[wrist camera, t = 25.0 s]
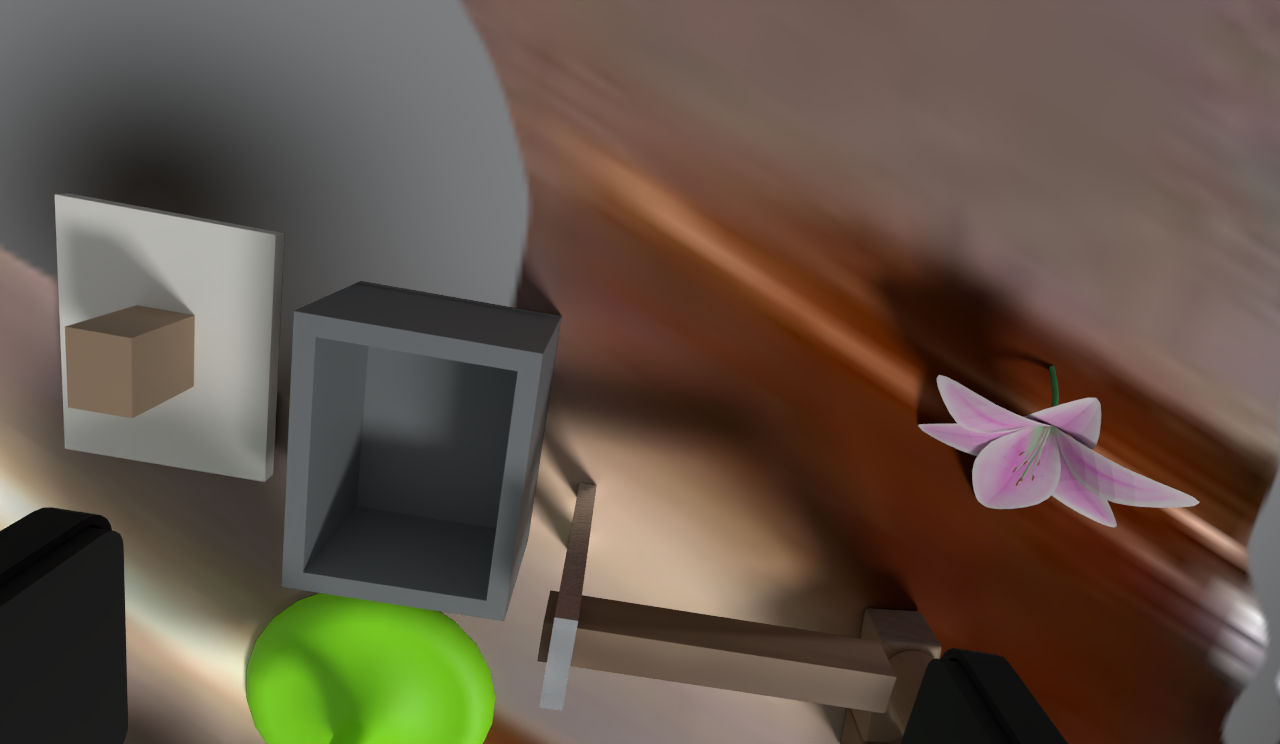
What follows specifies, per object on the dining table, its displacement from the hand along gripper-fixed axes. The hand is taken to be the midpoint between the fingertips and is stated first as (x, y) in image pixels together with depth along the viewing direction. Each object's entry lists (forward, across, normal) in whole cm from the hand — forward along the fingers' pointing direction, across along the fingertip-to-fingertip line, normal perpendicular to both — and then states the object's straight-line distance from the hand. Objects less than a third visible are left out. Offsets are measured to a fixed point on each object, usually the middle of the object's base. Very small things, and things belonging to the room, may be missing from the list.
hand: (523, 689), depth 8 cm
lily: (+33, -23, +5) cm, 40 cm away
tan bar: (+23, -8, +15) cm, 28 cm away
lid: (+33, +23, +8) cm, 41 cm away
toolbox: (+32, +6, +10) cm, 34 cm away
